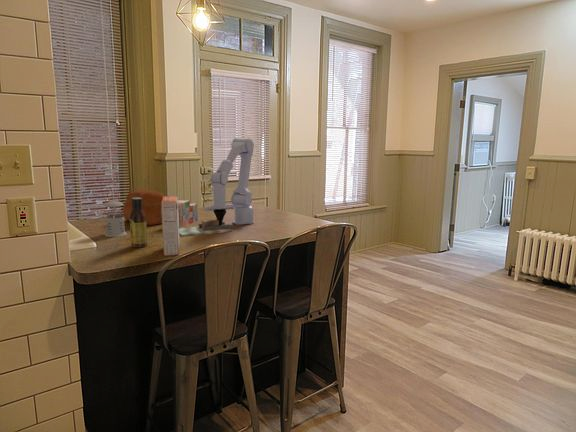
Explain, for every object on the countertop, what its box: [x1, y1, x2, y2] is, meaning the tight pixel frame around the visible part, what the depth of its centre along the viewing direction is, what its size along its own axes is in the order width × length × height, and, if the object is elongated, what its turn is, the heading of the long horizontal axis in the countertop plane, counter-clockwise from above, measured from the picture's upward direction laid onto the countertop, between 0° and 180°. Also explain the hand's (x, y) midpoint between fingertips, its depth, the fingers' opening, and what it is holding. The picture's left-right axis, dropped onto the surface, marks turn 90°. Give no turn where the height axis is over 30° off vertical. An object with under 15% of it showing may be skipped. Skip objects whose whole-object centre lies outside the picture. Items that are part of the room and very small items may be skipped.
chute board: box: [179, 226, 233, 237], centre depth 197 cm, size 24×14×1 cm, turn 119°
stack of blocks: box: [178, 199, 199, 228], centre depth 212 cm, size 21×6×12 cm, turn 169°
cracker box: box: [161, 195, 181, 257], centre depth 159 cm, size 14×6×21 cm, turn 13°
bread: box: [122, 188, 165, 226], centre depth 215 cm, size 18×21×17 cm
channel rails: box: [198, 221, 230, 231], centre depth 200 cm, size 13×8×2 cm, turn 119°
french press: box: [103, 179, 128, 238], centre depth 185 cm, size 10×12×25 cm
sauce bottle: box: [129, 197, 148, 248], centre depth 166 cm, size 7×6×20 cm
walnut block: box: [201, 218, 219, 229], centre depth 199 cm, size 7×5×4 cm, turn 119°
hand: (219, 224), depth 201 cm, fingers closed
